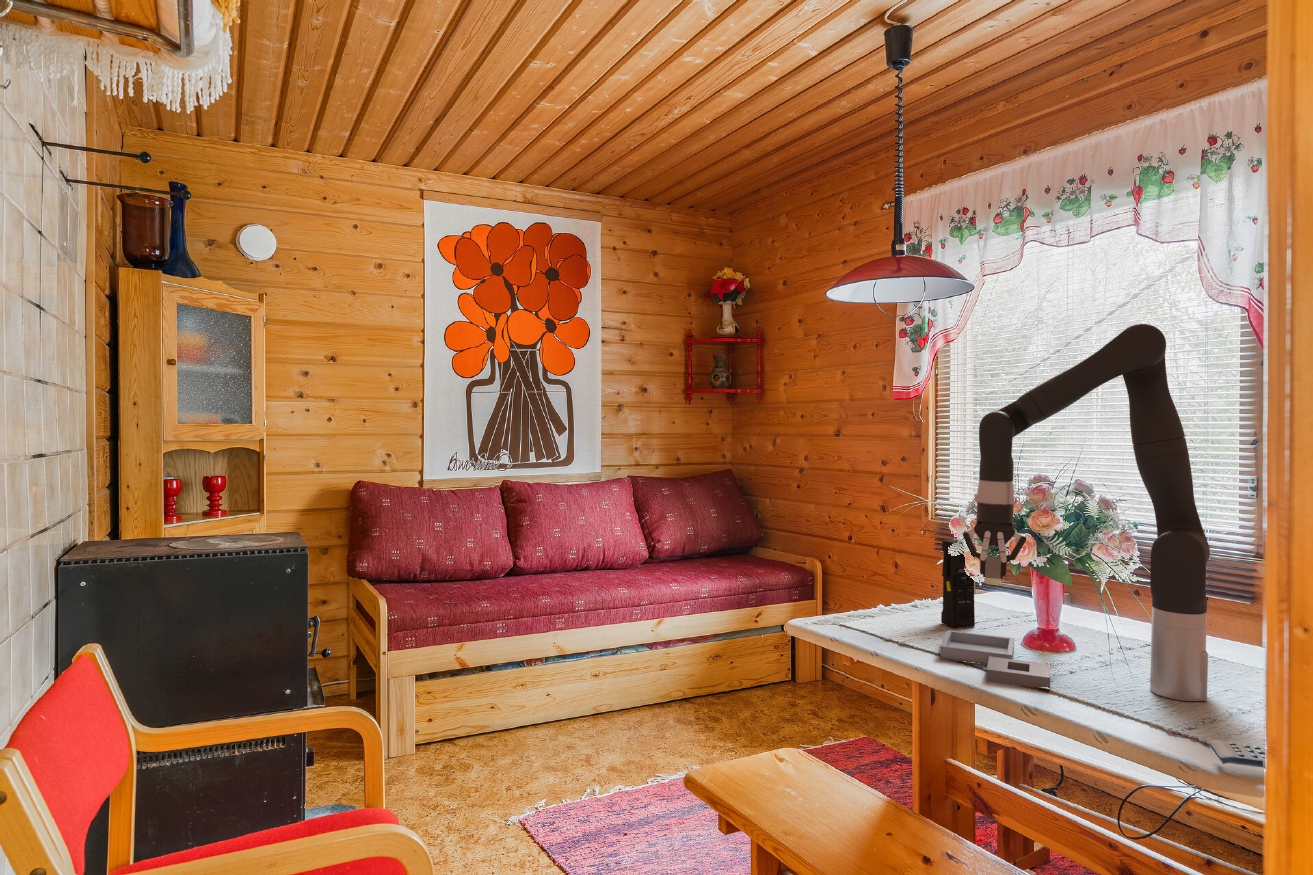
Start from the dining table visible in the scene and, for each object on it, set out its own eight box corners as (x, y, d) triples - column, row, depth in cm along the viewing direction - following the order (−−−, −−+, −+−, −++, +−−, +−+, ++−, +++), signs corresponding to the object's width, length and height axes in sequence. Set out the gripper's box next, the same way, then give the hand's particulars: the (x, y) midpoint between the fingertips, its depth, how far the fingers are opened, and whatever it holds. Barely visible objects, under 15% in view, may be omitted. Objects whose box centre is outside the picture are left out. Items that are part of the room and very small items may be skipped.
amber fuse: (1001, 565, 183) (1000, 558, 175) (1000, 585, 181) (999, 578, 174) (987, 564, 184) (985, 556, 176) (986, 583, 183) (984, 577, 175)
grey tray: (1014, 650, 189) (1014, 637, 189) (1011, 668, 176) (1011, 654, 176) (947, 642, 196) (947, 630, 196) (940, 658, 182) (940, 646, 182)
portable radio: (950, 629, 207) (952, 534, 207) (936, 623, 213) (938, 530, 212) (976, 627, 209) (978, 533, 209) (962, 621, 215) (963, 529, 215)
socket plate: (1049, 675, 171) (1049, 663, 171) (1049, 689, 162) (1050, 677, 162) (989, 667, 176) (989, 656, 176) (986, 680, 167) (986, 669, 167)
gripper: (1029, 501, 178) (1027, 577, 179) (963, 497, 184) (960, 571, 185) (1030, 504, 171) (1027, 584, 172) (960, 500, 177) (958, 577, 178)
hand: (992, 577), depth 178 cm, fingers closed on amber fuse, 2 cm apart
